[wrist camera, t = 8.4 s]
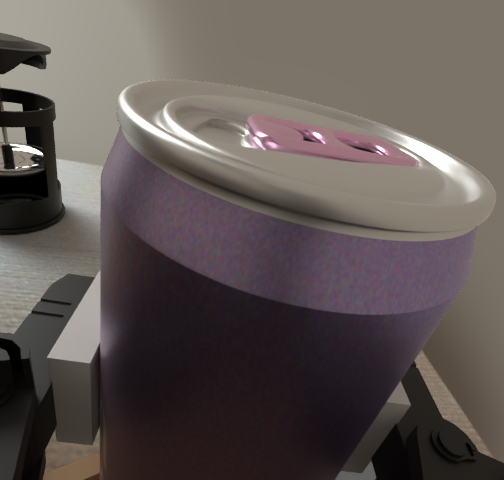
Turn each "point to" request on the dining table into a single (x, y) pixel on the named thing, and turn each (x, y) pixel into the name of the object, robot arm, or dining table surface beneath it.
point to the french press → (28, 147)
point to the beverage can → (266, 279)
